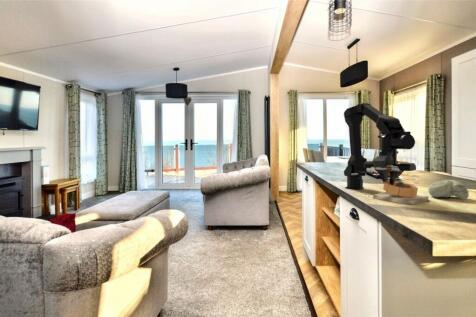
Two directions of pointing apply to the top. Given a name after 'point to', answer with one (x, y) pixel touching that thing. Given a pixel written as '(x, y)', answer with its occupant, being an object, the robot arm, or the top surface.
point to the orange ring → (400, 189)
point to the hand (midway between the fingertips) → (388, 186)
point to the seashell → (448, 189)
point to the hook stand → (400, 197)
